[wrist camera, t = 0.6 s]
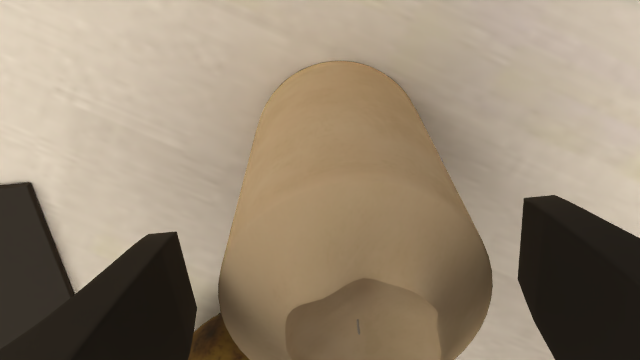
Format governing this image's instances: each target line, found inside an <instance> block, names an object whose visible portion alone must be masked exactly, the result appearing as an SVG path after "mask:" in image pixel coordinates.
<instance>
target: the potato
mask: <svg viewBox="0 0 640 360" xmlns="http://www.w3.org/2000/svg"><path fill="white" fill-rule="evenodd" d="M188 360H250V359H249V358H248V357H247V356H246V355H245V354H244V353H243V352H242V351H241V350H240V349H239V347H238V346H237V345H236V343H235V342H234V340H233V339H232V337H231V336H230V334H229V332H228V330H227V328H226V326H225V323H224V320H223V317H222V314H221V313H219V314H218V315H217V316H215V317H213V318H211V319H210V320H209V321H207V322H206V323H204V324H203V325H202V326H200V327H199V328H198V329H197V330H196V331H195V332H194V333H193V339H192V344H191V350H190V354H189V358H188Z"/></svg>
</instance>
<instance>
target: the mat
mask: <svg viewBox="0 0 640 360" xmlns="http://www.w3.org/2000/svg"><path fill="white" fill-rule="evenodd" d="M72 296H74V294H73V291H72V288H71V286H70V283H69V281H68V278H67V276H66V273H65V271H64V268H63V265H62V263H61V260H60V258H59V255H58V253H57V250H56V248H55V245H54V242H53V240H52V237H51V235H50V232H49V230H48V227H47V225H46V222H45V219H44V217H43V214H42V212H41V209H40V207H39V204H38V202H37V199H36V196H35V194H34V191H33V189H32V186H31V184H30V183H20V184H10V185H0V349H1V348H3V347H4V346H6V345H7V344H9V343H10V342H12V341H13V340H15V339H16V338H18V337H19V336H21V335H22V334H23V333H25V332H26V331H28V330H29V329H30V328H32V327H33V326H35V325H36V324H37V323H39V322H40V321H41V320H43V319H44V318H45V317H47V316H48V315H49V314H50V313H52V312H53V311H54V310H56V309H57V308H58V307H59V306H61V305H62V304H63V303H65V302H66V301H67V300H68V299H70V298H71V297H72Z"/></svg>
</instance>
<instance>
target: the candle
mask: <svg viewBox="0 0 640 360" xmlns="http://www.w3.org/2000/svg"><path fill="white" fill-rule="evenodd" d="M492 286H493V285H492V269H491V265H490V260H489V256H488V254H487V251H486V249H485V246H484V244H483V241H482V239H481V237H480V235H479V233H478V231H477V229H476V227H475V225H474V223H473V221H472V219H471V217H470V215H469V214H468V212H467V210H466V208H465V206H464V204H463V202H462V200H461V198H460V196H459V194H458V192H457V190H456V188H455V186H454V184H453V182H452V180H451V178H450V176H449V174H448V172H447V170H446V168H445V166H444V164H443V162H442V160H441V158H440V156H439V154H438V152H437V150H436V148H435V146H434V144H433V142H432V140H431V138H430V136H429V134H428V133H427V131H426V129H425V127H424V125H423V123H422V121H421V119H420V117H419V115H418V113H417V111H416V109H415V108H414V106H413V104H412V102H411V101H410V99H409V97H408V96H407V94H406V93H405V92H404V91H403V89H402V88H401V87H400V86H399V85H398V84H397V83H396V82H394V81H393V80H392V79H391V78H389V77H388V76H386V75H385V74H384V73H382V72H380V71H378V70H376V69H374V68H372V67H369V66H366V65H364V64H360V63H355V62H348V61H330V62H325V63H319V64H316V65H313V66H310V67H307V68H305V69H303V70H301V71H299V72H297V73H296V74H294V75H293V76H291V77H290V78H288V79H287V80H286V81H285V82H284V83H282V84H281V85H280V86H279V88H278V89H277V90H276V91H275V92H274V93H273V94H272V96H271V97H270V99H269V100H268V102H267V103H266V106H265V108H264V110H263V112H262V114H261V118H260V121H259V124H258V127H257V130H256V134H255V138H254V141H253V145H252V149H251V153H250V157H249V161H248V165H247V169H246V173H245V176H244V180H243V184H242V188H241V192H240V196H239V200H238V204H237V208H236V212H235V215H234V219H233V223H232V227H231V231H230V235H229V239H228V243H227V247H226V251H225V254H224V258H223V262H222V266H221V271H220V277H219V283H218V298H219V304H220V310H221V314H222V317H223V320H224V323H225V326H226V328H227V330H228V332H229V334H230V336H231V337H232V339H233V340H234V342H235V343H236V345H237V346H238V347H239V349H240V350H241V351H242V352H243V353H244V354H245V355H246V356H247V357H248V358H249V359H250V360H454V359H455V358H456V357H458V356H459V355H460V354H461V353H462V352H463V351H464V350H465V348H466V347H467V346H468V345H469V344H470V343H471V341H472V340H473V339H474V337H475V336H476V334H477V332H478V331H479V329H480V328H481V326H482V324H483V321H484V319H485V317H486V315H487V312H488V308H489V305H490V301H491V295H492Z"/></svg>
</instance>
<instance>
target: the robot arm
mask: <svg viewBox="0 0 640 360" xmlns="http://www.w3.org/2000/svg"><path fill="white" fill-rule="evenodd" d="M518 281H519V284H520V286H521V289H522V292H523V294H524V297H525V300H526V302H527V305H528V307H529V310H530V312H531V315H532V317H533V320H534V322H535V324H536V326H537V327H538V329H539V331H540V333H541V335H542V337H543V338H544V340H545V342H546V344H547V346H548V347H549V349H550V351H551V353H552V355H553V356H554V358H555V360H640V238H638V237H636V236H634V235H632V234H630V233H629V232H627V231H625V230H623V229H621V228H619V227H617V226H615V225H613V224H611V223H609V222H607V221H605V220H604V219H602V218H600V217H598V216H596V215H594V214H592V213H590V212H588V211H587V210H585V209H583V208H581V207H579V206H577V205H575V204H573V203H571V202H569V201H567V200H565V199H562V198H560V197H558V196H555V195H550V196H540V197H530V198H524V204H523V217H522V230H521V243H520V257H519V270H518ZM196 312H197V306H196V303H195V299H194V295H193V291H192V288H191V284H190V280H189V276H188V273H187V269H186V265H185V261H184V258H183V254H182V250H181V246H180V243H179V239H178V235H177V232H167V233H156V234H148V235H146V236H145V237H144V238H142V239H141V240H139V241H138V242H137V243H136V244H134V245H133V246H132V247H131V248H130V249H128V250H127V251H126V252H125V253H124V254H123V255H121V256H120V257H119V258H118V259H117V260H115V261H114V262H113V263H112V264H111V265H110V266H108V267H107V268H106V269H105V270H104V271H103V272H101V273H100V274H99V275H98V276H97V277H95V278H94V279H93V280H92V281H91V282H90V283H88V284H87V285H86V286H85V287H84V288H82V289H81V290H80V291H79V292H77V293H76V294H75V295H74V296H72V297H71V298H70V299H68V300H67V301H66V302H65V303H63V304H62V305H61V306H59V307H58V308H57V309H56V310H54V311H53V312H52V313H50V314H49V315H48V316H47V317H45V318H44V319H43V320H41V321H40V322H39V323H37V324H36V325H35V326H33V327H32V328H30V329H29V330H28V331H26V332H25V333H23V334H22V335H21V336H19V337H18V338H16V339H15V340H13V341H12V342H10V343H9V344H7V345H6V346H4V347H3V348H1V349H0V360H188V358H189V354H190V350H191V344H192V339H193V333H194V326H195V319H196Z"/></svg>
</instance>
